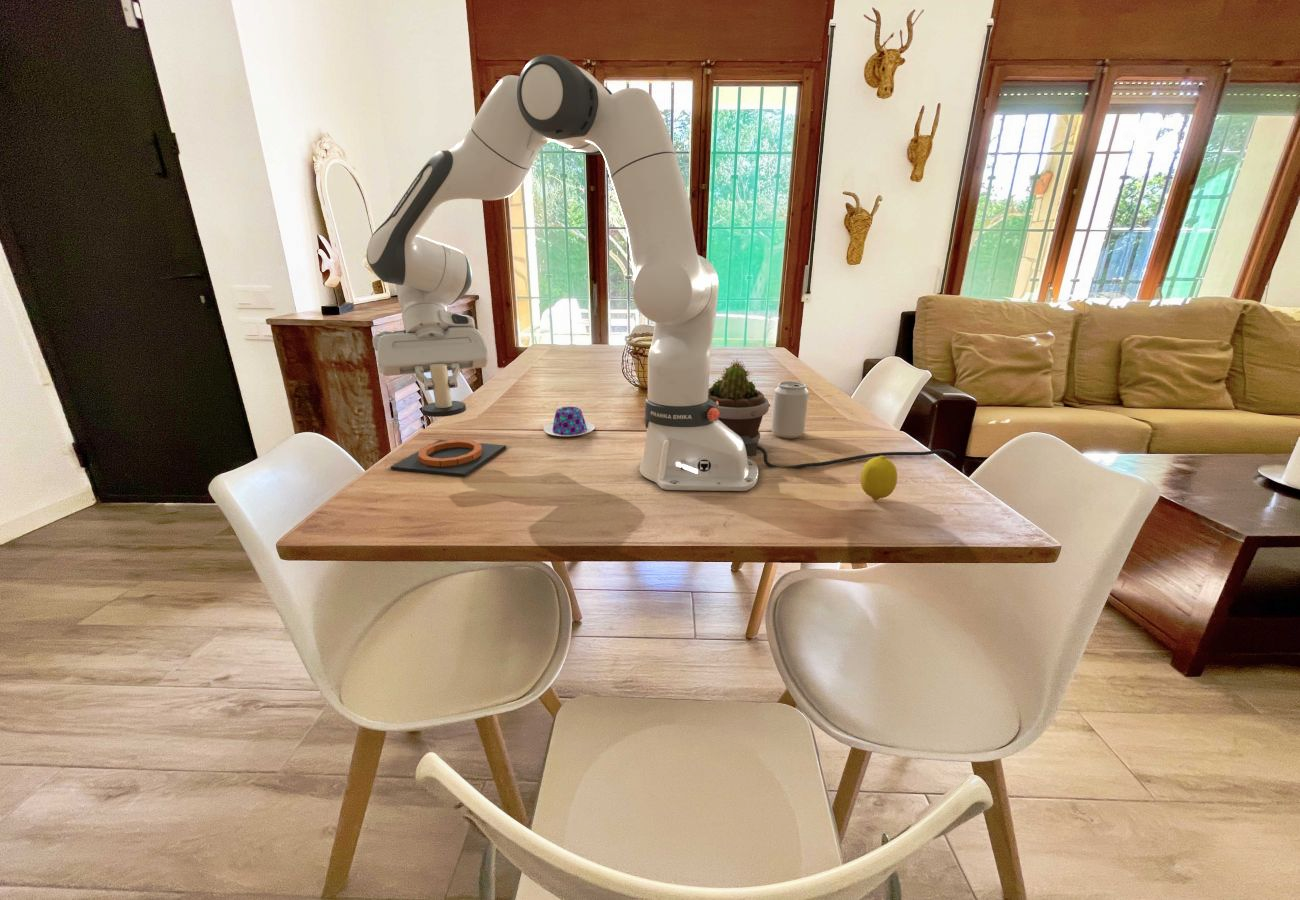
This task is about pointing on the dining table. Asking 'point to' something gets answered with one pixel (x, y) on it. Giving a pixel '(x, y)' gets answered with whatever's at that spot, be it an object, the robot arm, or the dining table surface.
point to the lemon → (879, 477)
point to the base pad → (449, 457)
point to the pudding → (569, 423)
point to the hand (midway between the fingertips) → (441, 387)
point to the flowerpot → (739, 401)
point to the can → (789, 409)
